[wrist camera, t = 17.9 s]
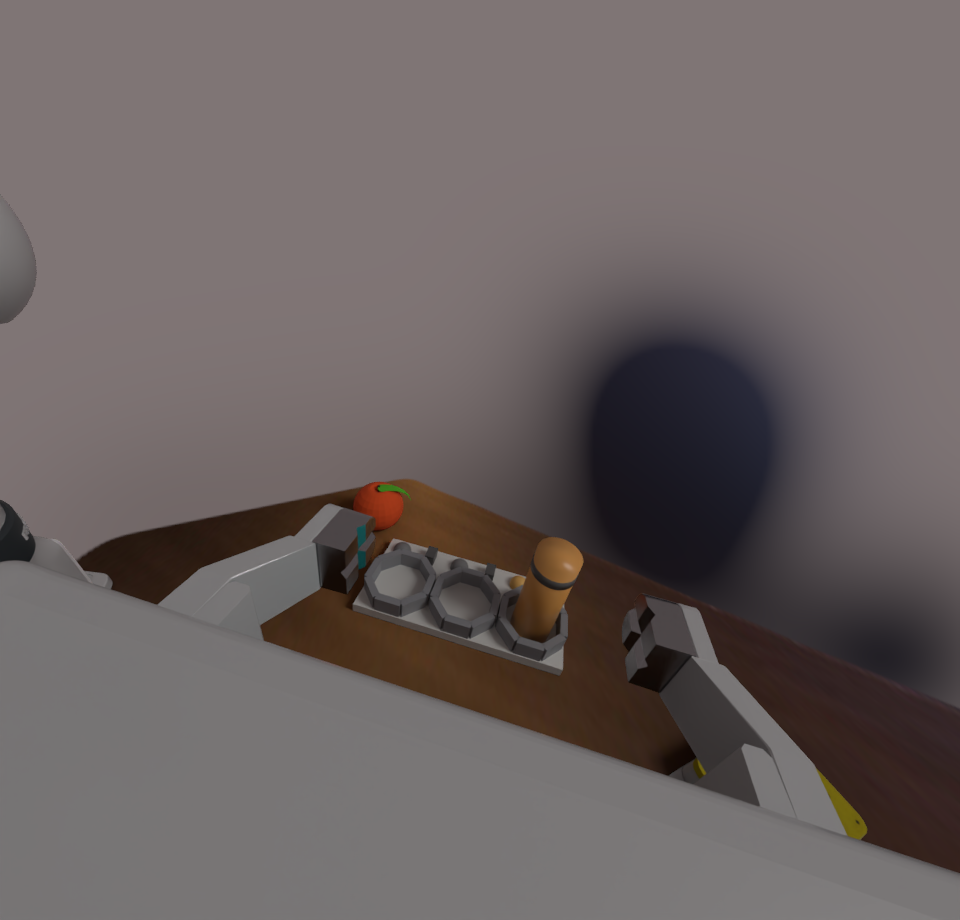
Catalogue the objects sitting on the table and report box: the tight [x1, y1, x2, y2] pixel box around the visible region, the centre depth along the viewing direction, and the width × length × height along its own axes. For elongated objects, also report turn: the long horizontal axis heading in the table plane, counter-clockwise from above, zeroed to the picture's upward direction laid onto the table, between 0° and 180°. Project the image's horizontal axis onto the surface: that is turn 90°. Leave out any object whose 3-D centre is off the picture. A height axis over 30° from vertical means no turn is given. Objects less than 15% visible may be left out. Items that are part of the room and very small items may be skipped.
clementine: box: [353, 482, 411, 530], centre depth 52 cm, size 8×7×7 cm
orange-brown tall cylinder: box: [510, 537, 583, 643], centre depth 39 cm, size 5×5×12 cm
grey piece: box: [353, 538, 568, 676], centre depth 44 cm, size 24×11×3 cm, turn 77°
